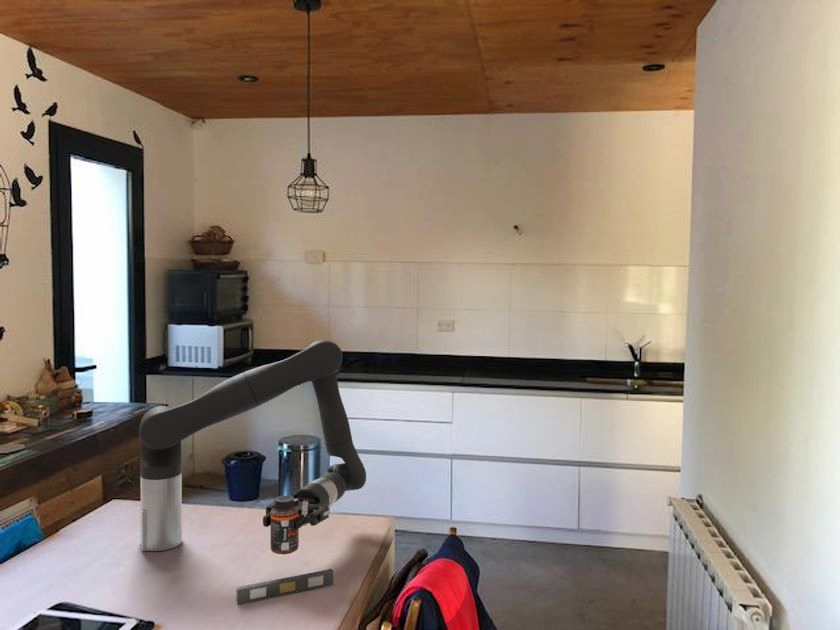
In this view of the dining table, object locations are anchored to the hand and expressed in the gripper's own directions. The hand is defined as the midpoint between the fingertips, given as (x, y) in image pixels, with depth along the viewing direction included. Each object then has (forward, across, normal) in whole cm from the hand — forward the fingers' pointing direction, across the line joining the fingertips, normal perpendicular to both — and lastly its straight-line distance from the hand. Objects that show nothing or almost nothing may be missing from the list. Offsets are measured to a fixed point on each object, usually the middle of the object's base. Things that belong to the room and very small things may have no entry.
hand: (278, 524), depth 138 cm
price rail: (+3, +3, +13) cm, 14 cm away
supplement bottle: (-2, 0, +7) cm, 7 cm away
